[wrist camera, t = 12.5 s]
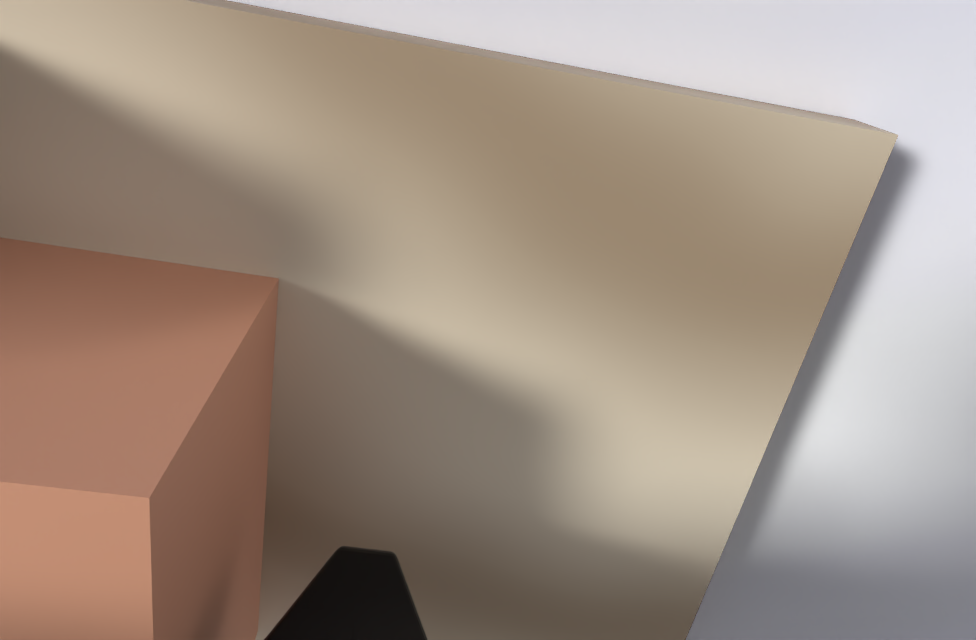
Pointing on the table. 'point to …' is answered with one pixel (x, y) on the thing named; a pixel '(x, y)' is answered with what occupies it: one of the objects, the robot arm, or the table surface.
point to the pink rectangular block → (131, 446)
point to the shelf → (458, 287)
